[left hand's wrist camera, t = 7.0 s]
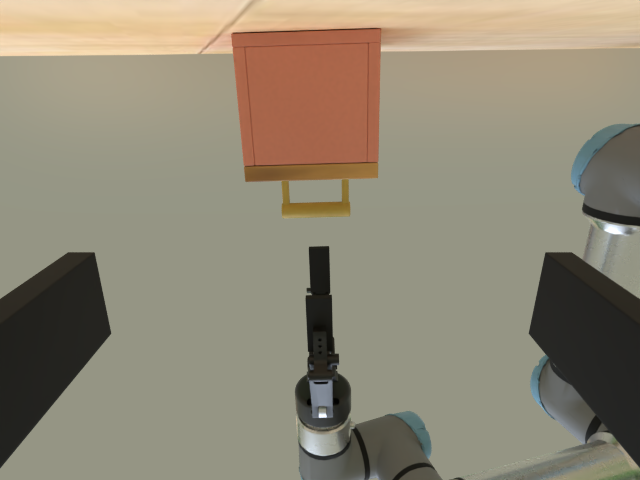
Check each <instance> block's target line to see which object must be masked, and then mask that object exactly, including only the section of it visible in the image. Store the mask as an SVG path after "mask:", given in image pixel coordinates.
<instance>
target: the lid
mask: <svg viewBox="0 0 640 480" xmlns="http://www.w3.org/2000/svg"><path fill="white" fill-rule="evenodd" d="M244 171H245V181H246V182H263V181H282V194H283V204H282V217H283V218H312V217H348V216H350V202H349V191H348V189H349V188H348V179H365V178H378V162H356V163H322V164H289V165H254V166H245V167H244ZM332 179H342V202H316V203H290V200H289V182H288V181H296V180H332Z"/></svg>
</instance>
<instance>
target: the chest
mask: <svg viewBox="0 0 640 480" xmlns="http://www.w3.org/2000/svg"><path fill="white" fill-rule="evenodd" d="M231 36H232V46H233V56H234V66H235V77H236V87H237V98H238V108H239V119H240V129H241V140H242V150H243V161H244V166H254V165H289V164H322V163H356V162H378V147H379V99H380V98H379V97H380V49H381V43H380V42H381V29H359V30H329V31H299V32H268V33H238V34H231Z"/></svg>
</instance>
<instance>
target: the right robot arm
mask: <svg viewBox="0 0 640 480" xmlns="http://www.w3.org/2000/svg"><path fill="white" fill-rule="evenodd" d="M571 180H572V183H573V184H574V187H575V189H576V190H577V191H578V192H579V193H581V194H582V195H584V196H585V198H584V203H583V207H582V213H583V214H584V216H585V217H586V218H587V219H588V220H589V221H590V227H589V232H588V236H587V241H586V245H585V250H584V254H583V259H582V260H584V261H585V262H586V263H588V264H589V265H591V266H592V267H594V268H595V269H597V270H598V271H600V272H601V273H603V274H604V275H605V276H607V277H608V278H610V279H611V280H613V281H614V282H616V283H617V284H619V285H620V286H622V287H623V288H624V289H626V290H627V291H629V292H630V293H632V294H633V295H635V296H636V297H638V298H639V297H640V124H615V125H611V126H608V127H606V128H603V129H602V130H600V131H598V132H597V133H596V134H594V135H593V137H592V138H591V139H590V140H588V141H587V142H586V143H585V144H584V145H583V147H582V148H581V149H580V151H579V153H578V155H577V156H576V159H575V161H574V164H573V167H572V173H571ZM309 263H310V287H311V288H307V293H311V294H312V295H307V296H306V317H307V338H308V352H309V357H308V372H307V375H305V376H304V377H302V378H301V379H300V380H299V382H298V383H297V385H296V388H295V399H296V411H297V412H296V422H297V437H298V442H299V462H300V466H299V472H300V475H301V480H369V479H372V478H378V480H442V478H441V477H440V476H439V474H438V473H437V471H436V470H435V469H434V467H433V466H432V464H431V463H430V461H429V460H428V459H429V457H430V455H431V440H430V436H429V433H428V431H427V430H426V428H425V424H424V422H423V421H422V419H421V418H420V417H419V416H418V415H417V414H415V413H414V412H411V411H406V412H401V413H396V414H388V415H385V416H383V417H380V418H376V419H373V420H370V421H366V422H363V423H359V424H356V425H355V423H354V422H353V421H351V413H350V411H351V387H350V384H349V382H348V381H347V380H346V379H345V378H344V377H343V376H342V375H340V374H338V373H337V371H336V369H337V365H339V354H335V348H334V338H333V330H332V295H329V294H330V264H329V246H320V247H309ZM313 352H314V353H313ZM330 353H331V354H330ZM530 385H531V392H532V395H533V397H534V399H535V401H536V402H537V403H538V404H539V405H540V406H541V407H542V408H543V409H544V411H545V412H546V413H547V414H548V415H549V416H550V417H551V418H553V419H555V420H557V421H558V422H559V423H560V424H561V425H562V426H563V427H564V428H566V429H567V430H568V431H569V432H570V433H571V434H572V435H574V436H575V437H576V438H577V439H578V440H579V441H580V442H581V443H582V444H583V445H579V446H576V447H572V448H568V449H564V450H561V451H557V452H553V453H549V454H546V455H542V456H538V457H534V458H531V459H527V460H523V461H520V462H516V463H512V464H508V465H504V466H501V467H497V468H493V469H489V470H486V471H482V472H478V473H474V474H471V475H467V476H463V477H460V478H455V479H451V480H640V468H639V467H638V465H637V464H636V463H635V462H634V461H633V459H632V458H631V457H630V456H629V455H628V453H627V452H626V451H625V450H624V448H623V447H622V446H621V445H620V444H619V442H618V441H617V440H616V439H615V438H614V436H613V435H612V434H611V433H610V431H609V430H608V429H607V428H606V427H605V425H604V424H603V423H602V422H601V421H600V419H599V418H598V417H597V416H596V415H595V413H594V412H593V411H592V410H591V408H590V407H589V406H588V405H587V404H586V402H585V401H584V400H583V399H582V398H581V396H580V395H579V394H578V393H577V391H576V390H575V389H574V388H573V387H572V385H571V384H570V383H569V382H568V381H567V379H566V378H565V377H564V376H563V374H562V373H561V372H560V371H559V370H558V368H557V367H556V366H555V365H554V364H553V362H552V361H551V360H550V359H549V357H548V356H547V355H545V356H544V357H542V358H541V359H540V361H539V365H538V366H535V368H534V370H533V373H532V376H531V382H530Z"/></svg>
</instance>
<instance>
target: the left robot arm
mask: <svg viewBox="0 0 640 480" xmlns="http://www.w3.org/2000/svg"><path fill="white" fill-rule="evenodd" d="M110 334H111V330H110V325H109V321H108V316H107V311H106V306H105V301H104V296H103V292H102V286H101V282H100V277H99V272H98V267H97V262H96V257H95V253H94V252H93V253H91V252H79V253H77V252H75V253H74V252H68V253H67V254H65V255H64V256H62V257H61V258H59V259H58V260H56V261H55V262H54V263H52V264H51V265H49V266H48V267H46V268H45V269H43V270H42V271H40V272H39V273H38V274H36V275H35V276H33V277H32V278H30V279H29V280H27V281H26V282H24V283H23V284H21V285H20V286H18V287H17V288H16V289H14V290H13V291H11V292H10V293H8V294H7V295H5V296H4V297H2V298H1V299H0V468H1V467H2V465H3V464H4V463H5V462H6V461H7V459H8V458H9V457H10V456H11V455H12V453H13V452H14V451H15V450H16V448H17V447H18V446H19V445H20V444H21V442H22V441H23V440H24V439H25V438H26V436H27V435H28V434H29V433H30V431H31V430H32V429H33V428H34V427H35V425H36V424H37V423H38V422H39V420H40V419H41V418H42V417H43V416H44V414H45V413H46V412H47V411H48V410H49V408H50V407H51V406H52V405H53V404H54V402H55V401H56V400H57V399H58V398H59V396H60V395H61V394H62V393H63V391H64V390H65V389H66V388H67V386H68V385H69V384H70V383H71V382H72V381H73V379H74V378H75V377H76V376H77V374H78V373H79V372H80V371H81V370H82V368H83V367H84V366H85V365H86V364H87V362H88V361H89V360H90V359H91V357H92V356H93V355H94V354H95V353H96V351H97V350H98V349H99V348H100V347H101V345H102V344H103V343H104V342H105V340H106V339H107V338H108V337H109V336H110ZM529 334H530V336H531V337H532V338H533V339H534V340H535V342H536V343H537V344H538V345H539V347H540V348H541V349H542V350H543V351H544V353H545V354H546V355H547V356H548V357H549V359H550V360H551V361H552V362H553V364H554V365H555V366H556V367H557V368H558V370H559V371H560V372H561V373H562V374H563V376H564V377H565V378H566V379H567V381H568V382H569V383H570V384H571V385H572V387H573V388H574V389H575V390H576V391H577V393H578V394H579V395H580V396H581V398H582V399H583V400H584V401H585V402H586V404H587V405H588V406H589V407H590V408H591V410H592V411H593V412H594V413H595V415H596V416H597V417H598V418H599V419H600V421H601V422H602V423H603V424H604V425H605V427H606V428H607V429H608V430H609V431H610V433H611V434H612V435H613V436H614V438H615V439H616V440H617V441H618V442H619V444H620V445H621V446H622V447H623V448H624V450H625V451H626V452H627V453H628V455H629V456H630V457H631V458H632V459H633V461H634V462H635V463H636V464H637V465H638V467H639V468H640V299H639V298H638V297H636V296H635V295H633V294H632V293H630V292H629V291H627V290H626V289H624V288H623V287H622V286H620V285H619V284H617V283H616V282H614V281H613V280H611V279H610V278H608V277H607V276H605V275H604V274H603V273H601V272H600V271H598V270H597V269H595V268H594V267H592V266H591V265H589V264H588V263H586V262H585V261H584V260H582V259H581V258H579V257H578V256H576V255H575V254H573V253H570V252H569V253H567V252H566V253H565V252H564V253H563V252H561V253H560V252H559V253H558V252H557V253H555V252H554V253H553V252H548V253H545V258H544V262H543V267H542V272H541V277H540V282H539V287H538V291H537V296H536V301H535V306H534V311H533V316H532V320H531V325H530V330H529Z"/></svg>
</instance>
